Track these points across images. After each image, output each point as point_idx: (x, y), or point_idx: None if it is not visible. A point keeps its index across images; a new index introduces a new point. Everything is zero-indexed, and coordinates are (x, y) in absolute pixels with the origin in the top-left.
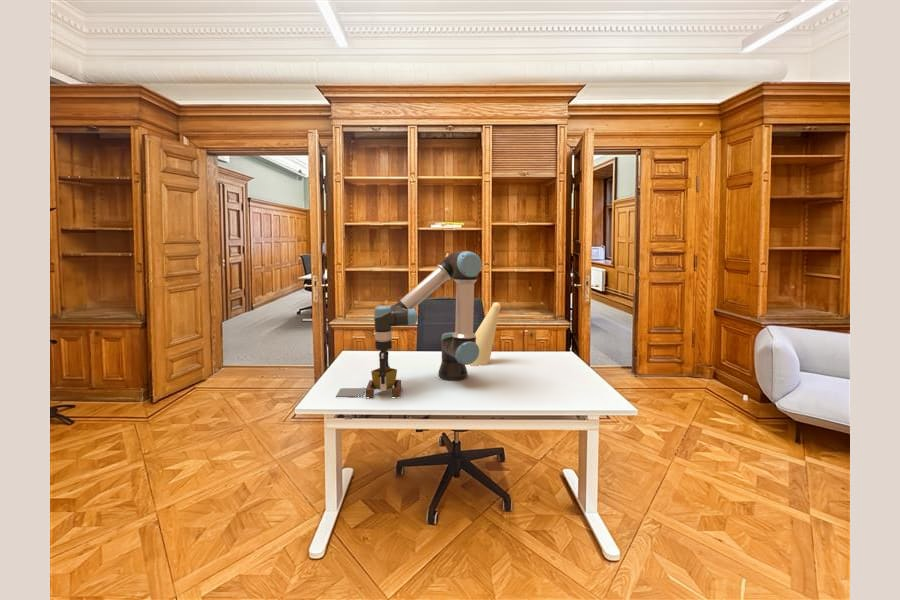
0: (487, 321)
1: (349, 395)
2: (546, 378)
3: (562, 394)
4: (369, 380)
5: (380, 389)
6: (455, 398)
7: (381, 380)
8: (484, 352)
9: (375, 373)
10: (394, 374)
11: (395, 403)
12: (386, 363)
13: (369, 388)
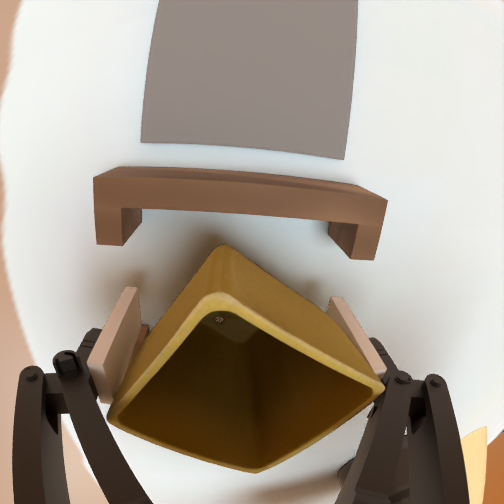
0: None
1: (167, 42)
2: None
3: None
4: (377, 198)
5: (122, 292)
6: (155, 473)
7: (78, 350)
8: None
9: (170, 334)
10: (226, 437)
11: (56, 333)
12: (356, 455)
13: (129, 207)
